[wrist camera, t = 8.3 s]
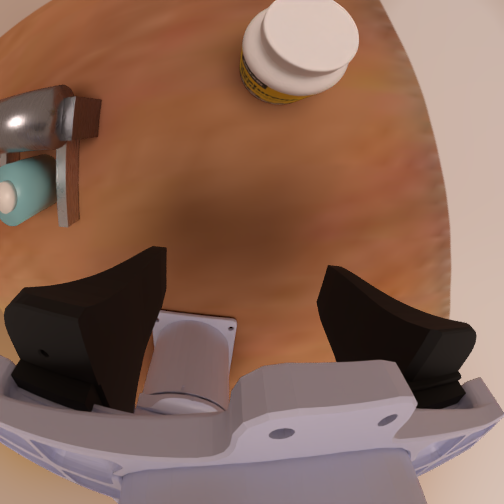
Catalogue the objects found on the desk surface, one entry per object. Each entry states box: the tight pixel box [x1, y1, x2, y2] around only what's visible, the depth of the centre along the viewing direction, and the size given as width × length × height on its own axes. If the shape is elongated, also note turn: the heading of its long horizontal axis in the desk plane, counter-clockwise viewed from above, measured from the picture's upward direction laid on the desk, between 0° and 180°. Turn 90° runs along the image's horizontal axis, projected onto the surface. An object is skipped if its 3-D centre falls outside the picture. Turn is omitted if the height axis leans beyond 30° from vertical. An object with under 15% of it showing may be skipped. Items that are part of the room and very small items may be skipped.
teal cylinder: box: [0, 154, 57, 226], centre depth 16 cm, size 5×5×6 cm
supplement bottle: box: [240, 0, 359, 104], centre depth 12 cm, size 5×5×10 cm
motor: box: [0, 85, 101, 227], centre depth 14 cm, size 11×12×6 cm
